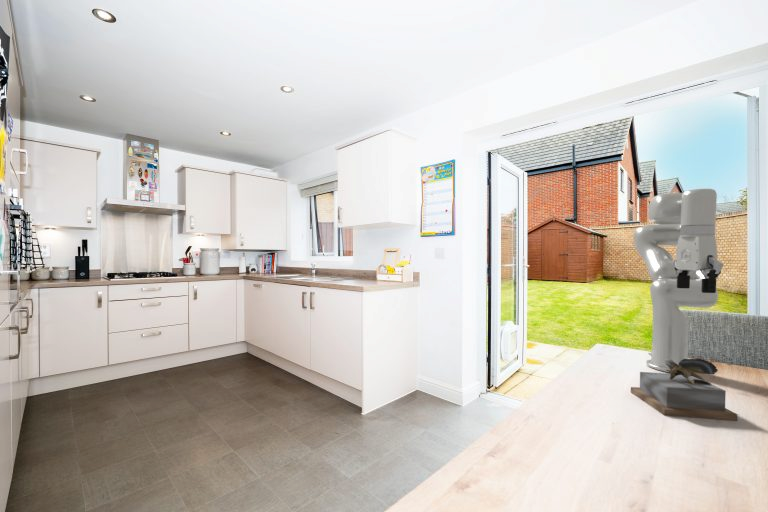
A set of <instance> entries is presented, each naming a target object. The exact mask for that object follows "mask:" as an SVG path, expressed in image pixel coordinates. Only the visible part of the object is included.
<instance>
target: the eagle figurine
mask: <svg viewBox="0 0 768 512" xmlns="http://www.w3.org/2000/svg"><path fill="white" fill-rule="evenodd" d="M665 363H666V365H668V366H669V368H670V371H669V370H667V369H666V371H668V372H667V373H668V374H670V380H671V379H673V378H675V376H677V375H682V376H683V377H685V378H686V379H688V380H689V381H690V382H691V383H692V385H694V380H693V379H692V377H691V376H693V377H696V378H698V379H701V380H703V381H705V382H707V383H709V384H712V383H711V382H709V381H708V380H706V379H704V378H703V377H702V376H701V375H702V374H703V375H704V374H705V375H715V374H716V373H717V372H718V371H719V370H718V369H717V367H716V366H715V364H713V363H712V362H711V361H709V360H707V359H706V360H705V359H703V358H687V359H683V360H681V361H680V362H679V365H678V364H676V363H675V362H674V361H673V360H671V359H667V360H665ZM700 374H701V375H700Z"/></svg>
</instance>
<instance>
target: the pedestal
mask: <svg viewBox="0 0 768 512" xmlns="http://www.w3.org/2000/svg"><path fill="white" fill-rule="evenodd" d="M691 377H692V379H693V380H694V385H692V383H691V382H690V381H689V380H688V379H686V378H685V377H683V376H682V375H677V376H675V378H673V379H671V380H670V373H669V372H663V373H662V372H646V371H639V387H638V386H637V387H636V386H630V393H631V394H632V395H634V396H636V397H637V398H638V399H640V400H642V401H643V402H645V403H646V404H647V405H648V406H651V408H653V409H655V410H656V411H657V412H659V413H661V415H664V416H668V417H669V416H670V417H671V416H672V417H684V418H695V419H696V418H697V419H710V420H725V421H738V416H739V415H738V414H737V413H735V412H733V411H732V410H730V409H728V408H726V396H727V395H726V390H725V389H722V388H721V387H718V386H716V385H714V384H712V383H711V384H709V383H710V382H709V383H707V382H708V381H707V382H705V381H706V380H705V381H703V380H701V379H698V378H696V377H693V376H691Z"/></svg>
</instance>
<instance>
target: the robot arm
mask: <svg viewBox="0 0 768 512" xmlns="http://www.w3.org/2000/svg"><path fill="white" fill-rule="evenodd" d="M717 195H718V194H717V191H716V190H715V189H712V188H696V189H695V188H694V189H690V190H685V191H683V192H672V193H671V192H670V193H669V192H668V193H660V194H657V195H655V196H653V197H652V198H651V200H650V202H649V206H648V213H647V216H648V219H649V220H650V222H652V223H654V224H647V225H646V224H645V225H642V226H639V227H638V228H636V229H635V230H634V232H633V244H634V247H635V250H636V252H637V253H638V255H639V256H640V257H641V258H642V260H643V261H644V263H645V266H646V269H647V272H648V275H649V277H650V280H651V281H652V282H651V284H650V287H649V291H650V299H651V305H652V336H651V337H652V338H651V339H652V340H651V341H652V342H651V343H652V345H651V349H652V350H651V351H649V352H648V355H649V356H651V359H648V360H646V362H645V363H646V366H647V367H649V368H651V369H653V370H658V371H660V372H663V373H669V372H668V371H666V369H667V370H669V371H670V368H669V366H668V365H666V363H665V360H667V359H671V360H673V361H674V362H675V363H676V364H678V365H679V362H680V361H681V360H683V359H688V355H689V354H688V350H689V348H688V344H689V343H688V342H689V319H688V317H687V315H685V314H684V312H682V310H681V309H680V308H681V307H682V308H683V307H686V308H701V309H703V308H704V309H707V308H712V307H714V306H715V305H716V304H718V300H719V292H718V289H717V279H719V275H721V272H722V269H723V267H724V263H723V262H721V261H720V260H718V246H717V239H716V223H717V199H718V197H717ZM662 246H666V247H667V246H670V247H671V246H676V249H675V259H674V258H673V255H672V254H671V253H670V252H669V251H668V250H667V249H665V248H664V247H662Z"/></svg>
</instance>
